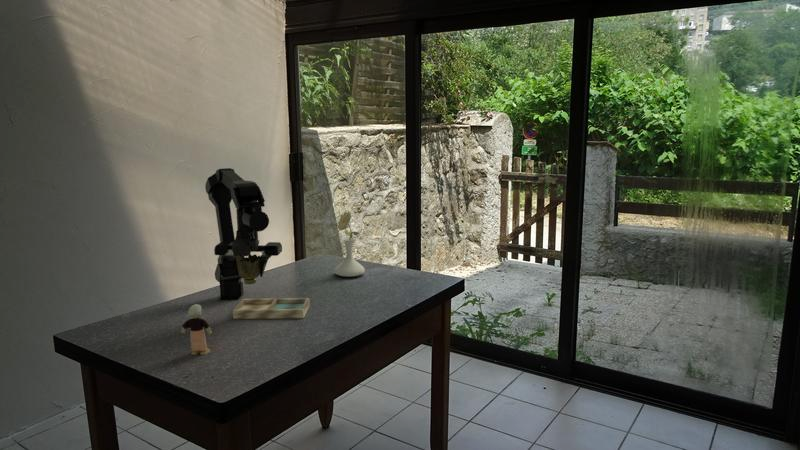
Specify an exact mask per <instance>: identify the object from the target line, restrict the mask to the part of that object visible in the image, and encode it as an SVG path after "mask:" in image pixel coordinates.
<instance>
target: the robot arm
mask: <svg viewBox="0 0 800 450" xmlns="http://www.w3.org/2000/svg"><path fill="white" fill-rule="evenodd" d="M204 185H205V186H204V187H205V193H206V195H208V196H207V197H208V200H209V201H210V203H211V204H212V205H213V206H214V207H215V214H216V221H217V223H216V224H217V228H218V234H219V243H218V244H216V245H215V246H214V251H213V252H214V256H218V258H217V265H216V268H215V270H214V278H215V280H216V281H217V282H218V283H219V293H220V295H219V298H218V300H221V301H222V300H230V301H231V300H232V301H233V300H240V298H242V296H243V295H244V294H245V293H244V281H242V279H243V278H242V277H241V276H240V275H239V272H238V268H237V262H236V258H237V259H238V256H240V257H242V256H244V257H248V256H249V255H250V254H251V253H253V252H254V253H255V252H257V253H258V252H260V253H261V255H260V275H259V276H260V278H262V277H263V276H264V272H265V270H266V266H267V263H268V261H269V259H271V257H272V256H275V257H276V256H279V255H280V254H281V253H282V252H283V245H282V243H281V242H278V241H274V242H272V241H270V242H269V241H268V242H267V243H266V244H265V245H259V244H260V240H259V232H262V231H265V230H266V229H267V228H268V226H269V224H270V218H269V216H268V214H267V213H266V212H265V211H262V210H263V209H262V208H264V207H265V201H266V200H265V198H264V195H263V192H262V190H261V188H260V186H259V185H258V183H256V182H255V181H253V180H245V179H243V178H242V177H241V176H240V175H239V174H237V173H236V172H235V169H234V168H231V167H226V168H218V169H217V170H215V173H213V174H211V175H210V176H208V177H207V180H206V182H205V184H204ZM231 202H233V204H234V206H235V209H236V225H237V227H236V228H237V229H236V232H234V226H233V225H234V223H233V218H232V211H231V205H230V204H231ZM235 234H236V236H235ZM251 255H252V254H251Z"/></svg>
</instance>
